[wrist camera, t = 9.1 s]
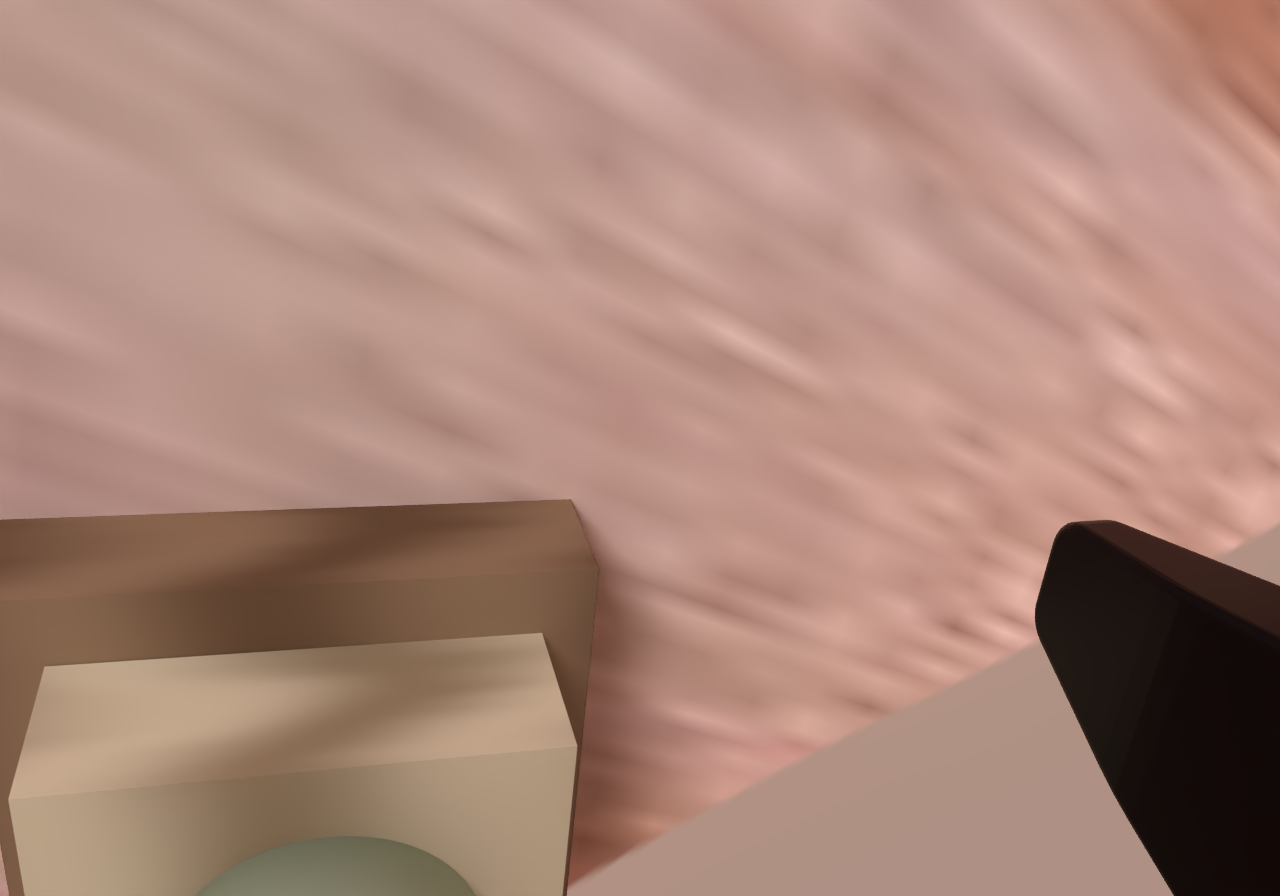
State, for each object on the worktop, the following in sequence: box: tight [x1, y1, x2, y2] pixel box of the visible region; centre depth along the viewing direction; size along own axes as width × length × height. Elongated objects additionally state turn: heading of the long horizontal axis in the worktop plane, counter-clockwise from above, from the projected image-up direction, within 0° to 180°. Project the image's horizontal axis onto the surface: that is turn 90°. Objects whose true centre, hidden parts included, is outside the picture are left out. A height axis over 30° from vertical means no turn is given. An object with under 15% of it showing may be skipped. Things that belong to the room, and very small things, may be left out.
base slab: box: [0, 499, 599, 896], centre depth 23 cm, size 10×10×3 cm
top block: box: [8, 633, 577, 896], centre depth 21 cm, size 8×8×3 cm
